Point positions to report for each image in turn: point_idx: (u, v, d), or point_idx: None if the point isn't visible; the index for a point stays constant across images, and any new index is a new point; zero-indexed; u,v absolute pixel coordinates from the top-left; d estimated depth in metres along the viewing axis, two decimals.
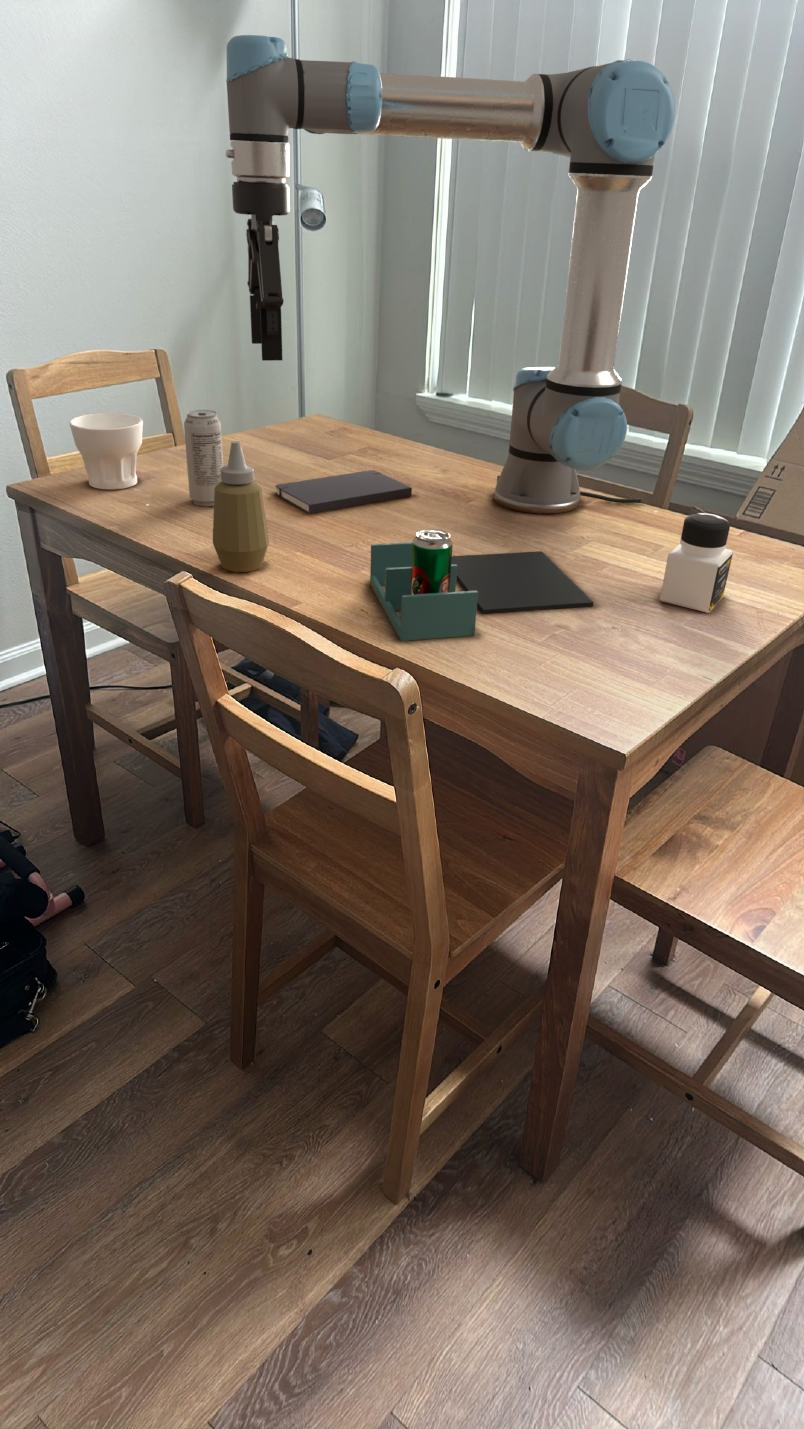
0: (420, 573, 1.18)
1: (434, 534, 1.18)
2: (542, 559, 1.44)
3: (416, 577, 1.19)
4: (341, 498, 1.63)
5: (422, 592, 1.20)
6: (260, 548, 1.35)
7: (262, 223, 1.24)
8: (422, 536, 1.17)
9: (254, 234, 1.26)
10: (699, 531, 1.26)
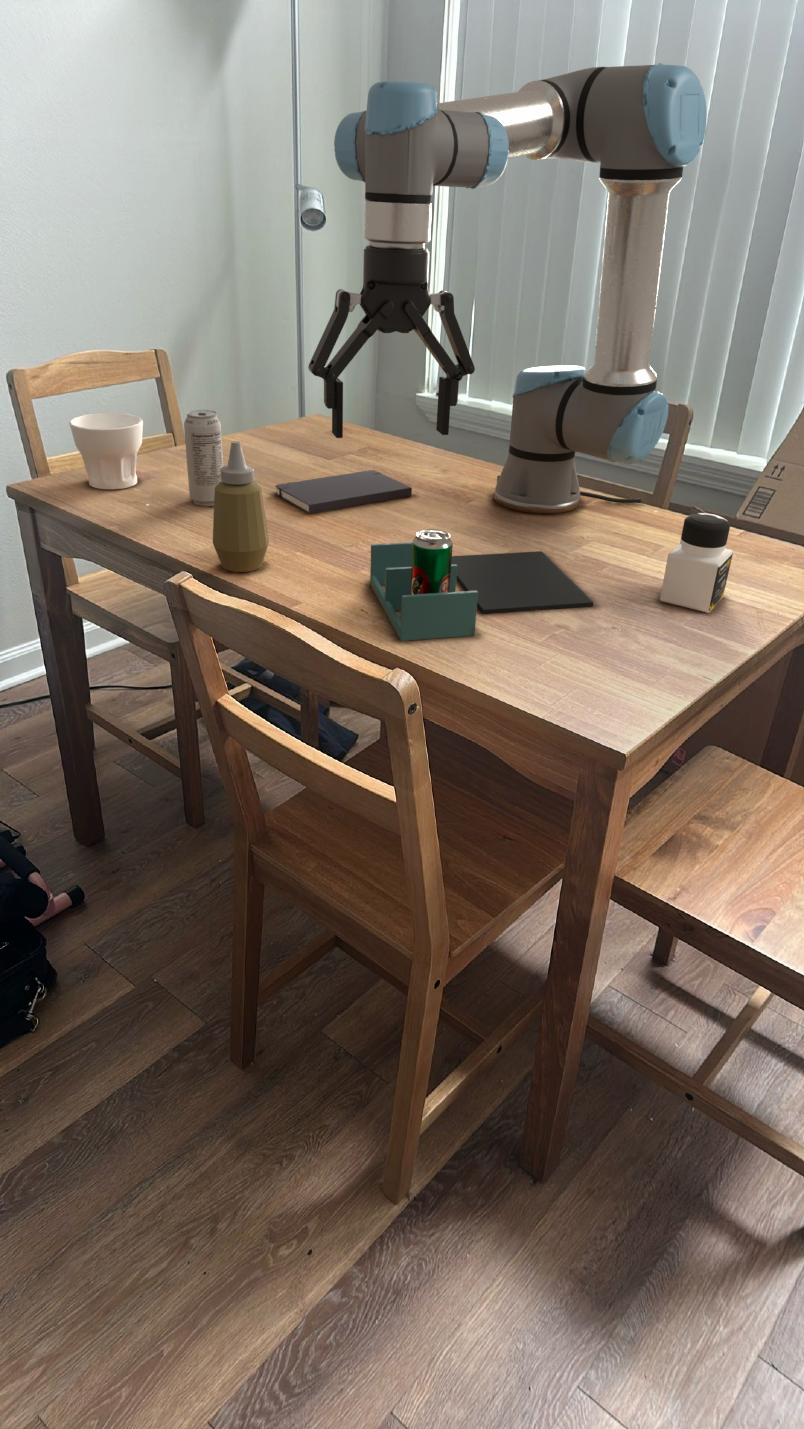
0: (420, 573, 1.18)
1: (434, 534, 1.18)
2: (542, 559, 1.44)
3: (416, 577, 1.19)
4: (341, 498, 1.63)
5: (422, 592, 1.20)
6: (260, 548, 1.35)
7: (363, 290, 1.10)
8: (422, 536, 1.17)
9: None
10: (699, 531, 1.26)
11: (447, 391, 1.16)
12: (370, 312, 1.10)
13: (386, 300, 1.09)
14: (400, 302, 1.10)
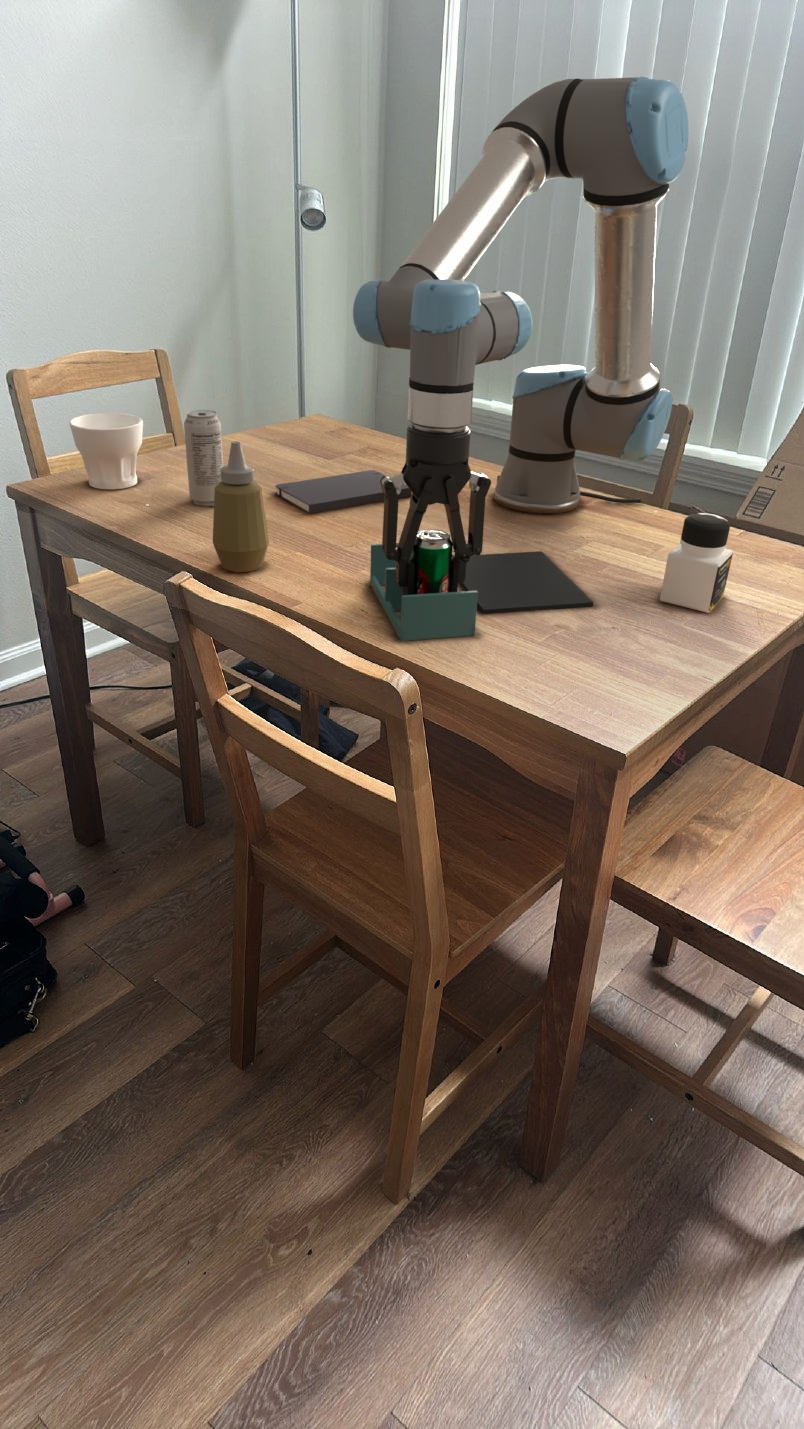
0: (420, 573, 1.18)
1: (434, 534, 1.18)
2: (542, 559, 1.44)
3: (416, 577, 1.19)
4: (341, 498, 1.63)
5: (422, 592, 1.20)
6: (260, 548, 1.35)
7: (402, 469, 1.13)
8: (422, 536, 1.17)
9: None
10: (699, 531, 1.26)
11: (455, 571, 1.20)
12: (412, 487, 1.13)
13: (425, 477, 1.13)
14: (443, 467, 1.13)
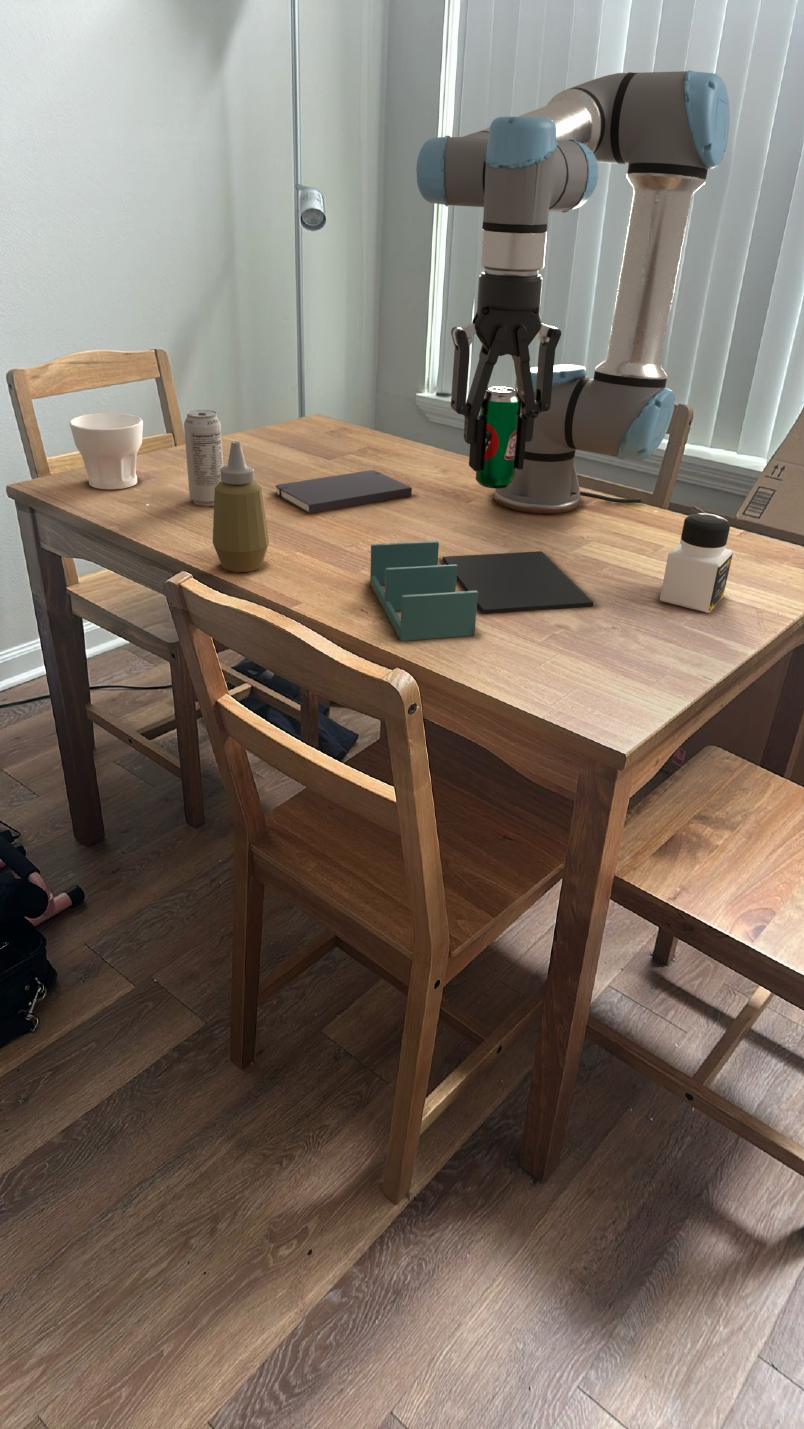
0: (489, 428, 1.19)
1: (503, 389, 1.19)
2: (542, 559, 1.44)
3: (485, 433, 1.20)
4: (341, 498, 1.63)
5: (490, 449, 1.20)
6: (260, 548, 1.35)
7: None
8: (491, 390, 1.18)
9: None
10: (699, 531, 1.26)
11: (523, 428, 1.20)
12: (484, 336, 1.14)
13: (497, 325, 1.13)
14: (515, 316, 1.13)
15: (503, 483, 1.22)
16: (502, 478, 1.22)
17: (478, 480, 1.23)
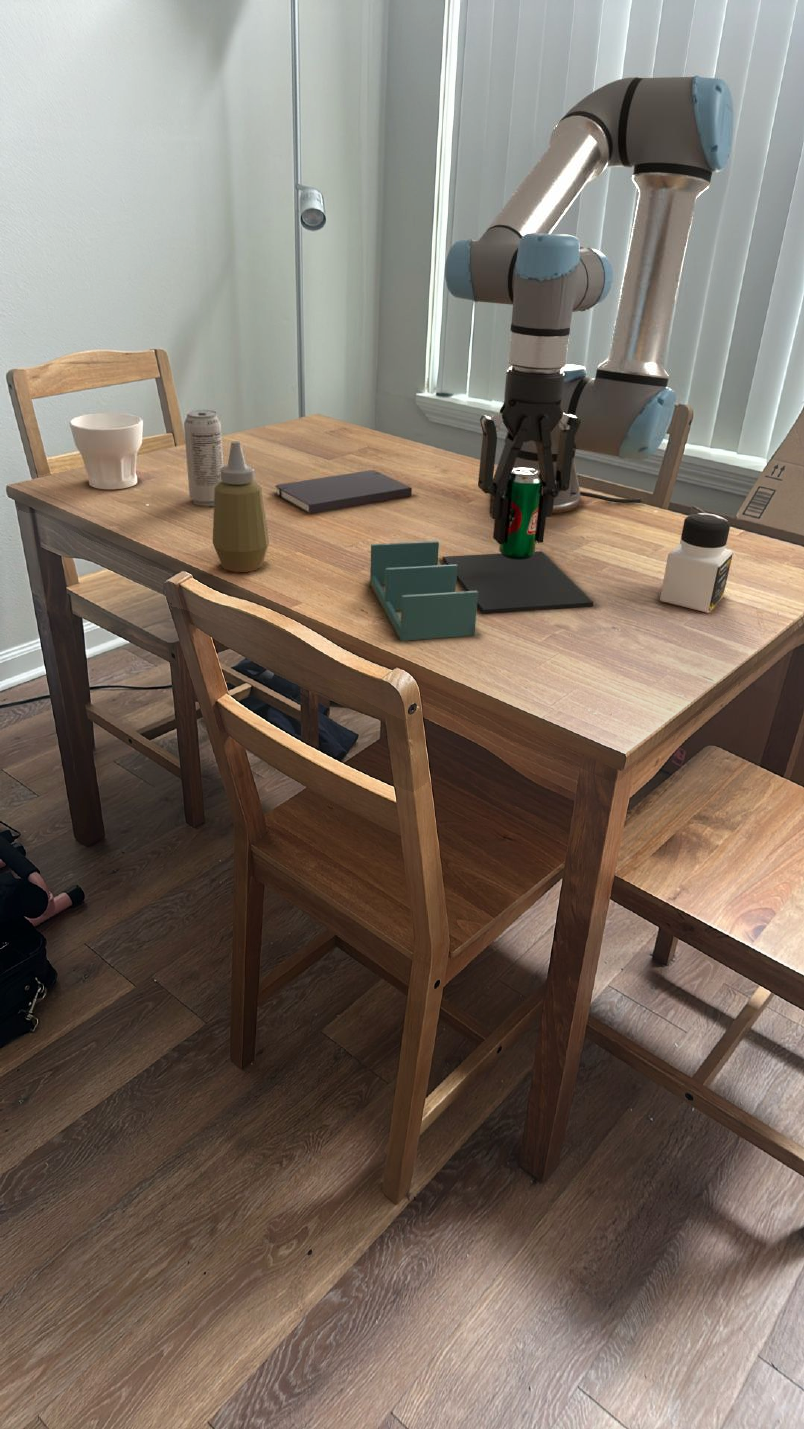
0: (513, 506, 1.29)
1: (526, 470, 1.29)
2: (542, 559, 1.44)
3: (509, 510, 1.30)
4: (341, 498, 1.63)
5: (514, 524, 1.30)
6: (260, 548, 1.35)
7: (501, 408, 1.24)
8: (516, 472, 1.28)
9: None
10: (699, 531, 1.26)
11: (544, 505, 1.31)
12: (510, 425, 1.24)
13: (522, 415, 1.24)
14: (539, 407, 1.24)
15: (525, 555, 1.33)
16: (524, 550, 1.32)
17: (502, 552, 1.34)
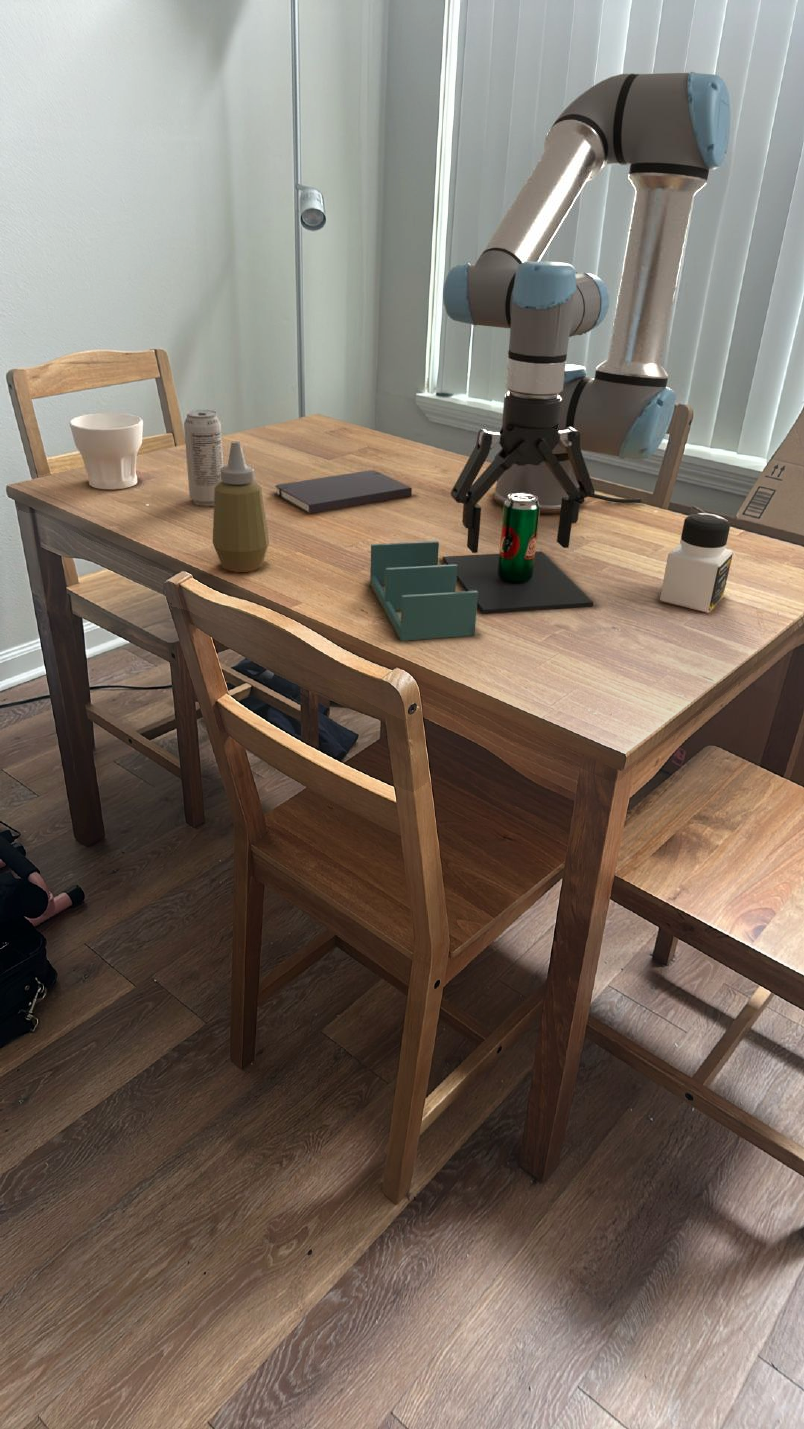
0: (511, 532, 1.31)
1: (524, 496, 1.31)
2: (542, 559, 1.44)
3: (507, 536, 1.32)
4: (341, 498, 1.63)
5: (512, 549, 1.32)
6: (260, 548, 1.35)
7: (502, 430, 1.26)
8: (513, 498, 1.30)
9: None
10: (699, 531, 1.26)
11: (570, 512, 1.32)
12: (508, 449, 1.26)
13: (522, 439, 1.26)
14: (534, 440, 1.26)
15: (523, 579, 1.35)
16: (522, 575, 1.34)
17: (500, 575, 1.36)
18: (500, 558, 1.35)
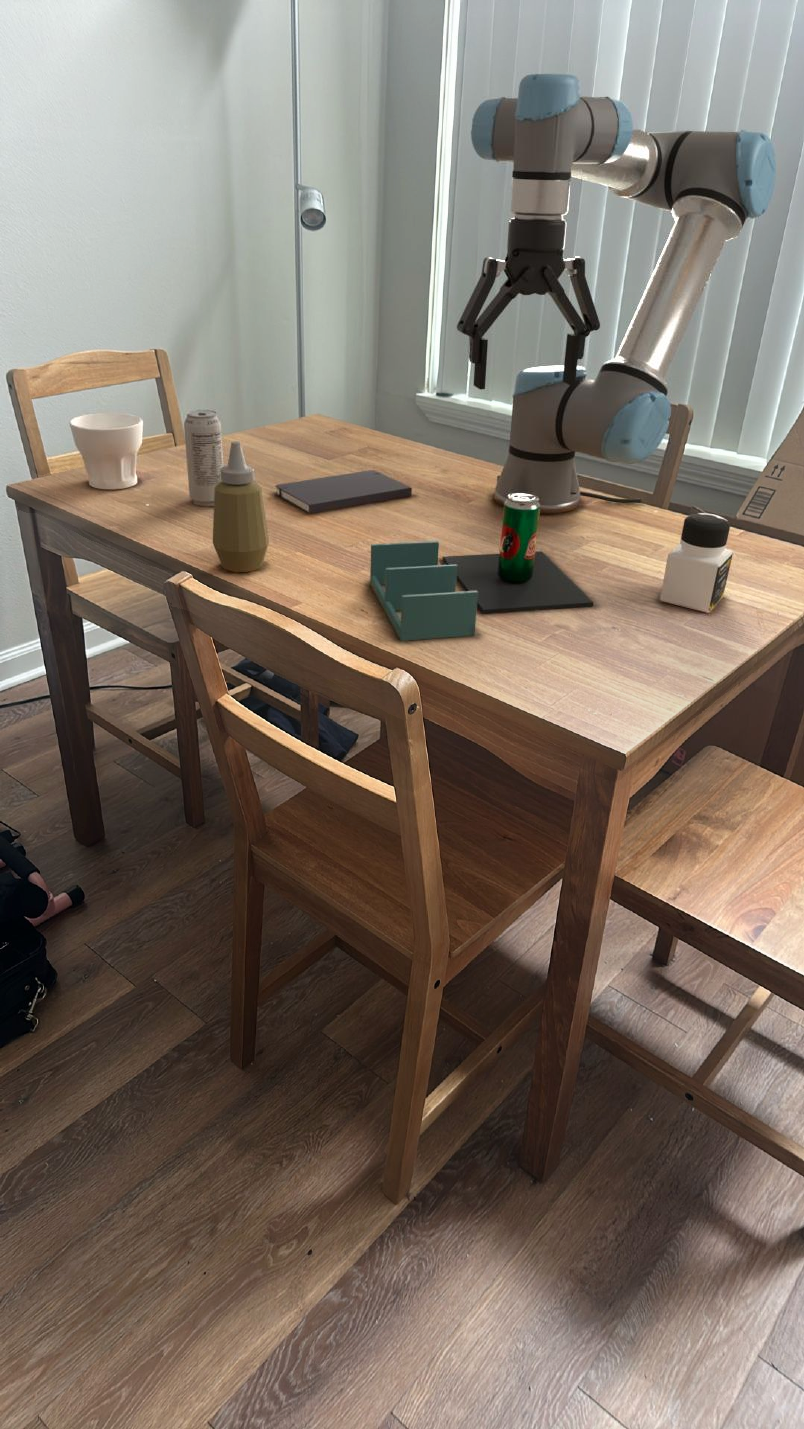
0: (511, 532, 1.31)
1: (524, 496, 1.31)
2: (542, 559, 1.44)
3: (507, 536, 1.32)
4: (341, 498, 1.63)
5: (512, 549, 1.32)
6: (260, 548, 1.35)
7: (507, 257, 1.25)
8: (513, 498, 1.30)
9: None
10: (699, 531, 1.26)
11: (576, 346, 1.32)
12: (514, 276, 1.26)
13: (528, 266, 1.25)
14: (539, 267, 1.26)
15: (523, 579, 1.35)
16: (522, 575, 1.34)
17: (500, 575, 1.36)
18: (500, 558, 1.35)
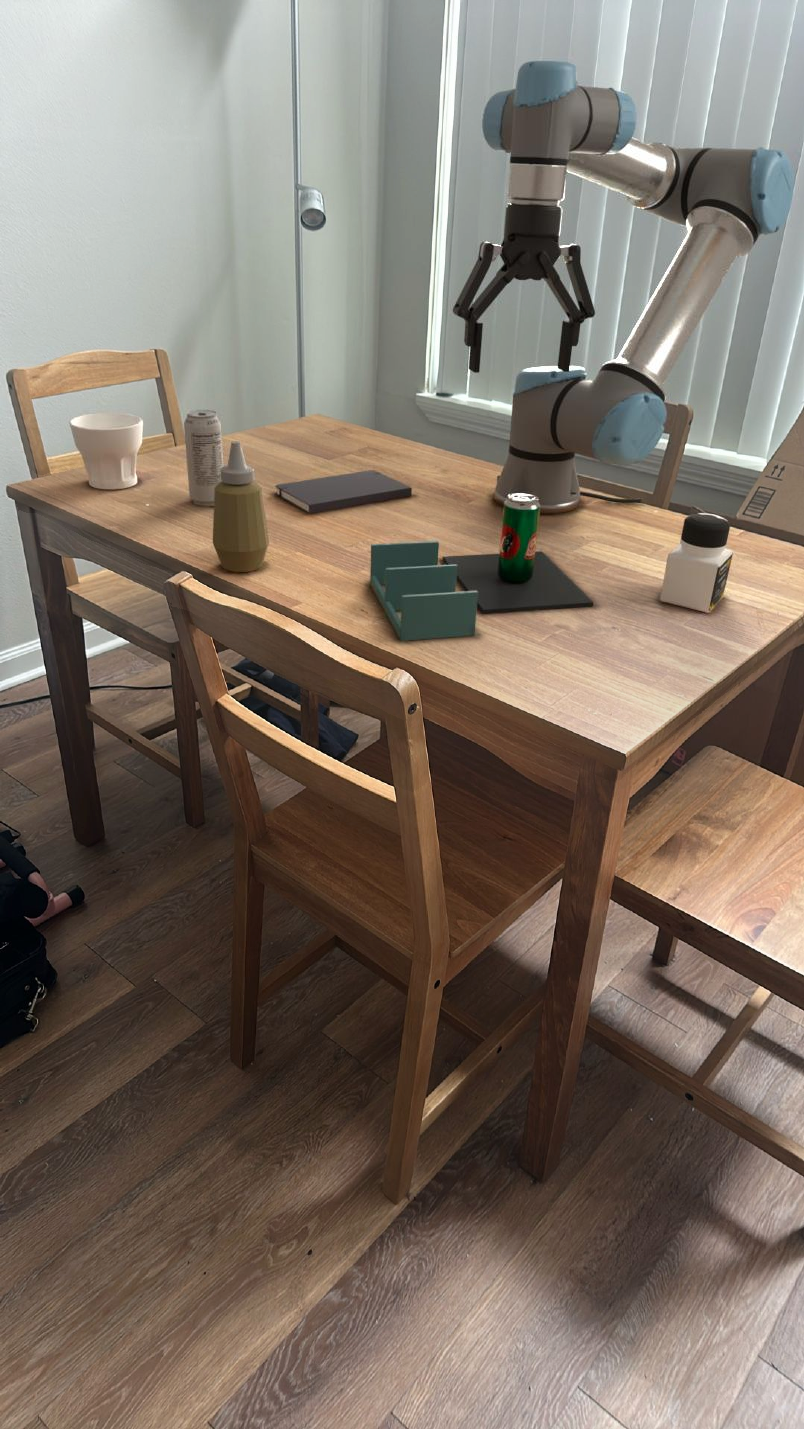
0: (511, 532, 1.31)
1: (524, 496, 1.31)
2: (542, 559, 1.44)
3: (507, 536, 1.32)
4: (341, 498, 1.63)
5: (512, 549, 1.32)
6: (260, 548, 1.35)
7: (503, 242, 1.27)
8: (513, 498, 1.30)
9: None
10: (699, 531, 1.26)
11: (570, 332, 1.34)
12: (509, 261, 1.27)
13: (523, 251, 1.27)
14: (535, 253, 1.28)
15: (523, 579, 1.35)
16: (522, 575, 1.34)
17: (500, 575, 1.36)
18: (500, 558, 1.35)
